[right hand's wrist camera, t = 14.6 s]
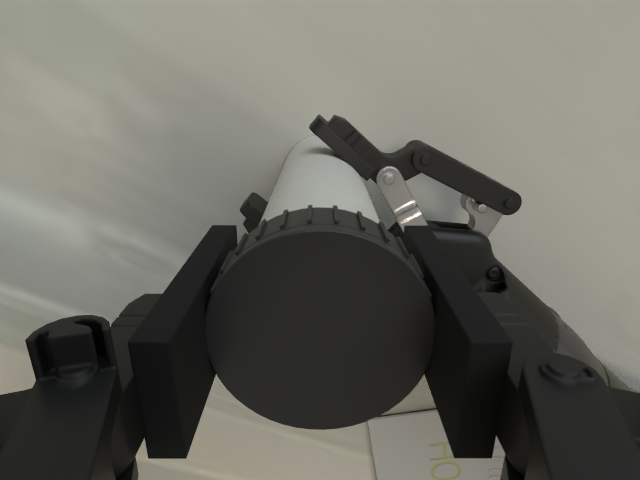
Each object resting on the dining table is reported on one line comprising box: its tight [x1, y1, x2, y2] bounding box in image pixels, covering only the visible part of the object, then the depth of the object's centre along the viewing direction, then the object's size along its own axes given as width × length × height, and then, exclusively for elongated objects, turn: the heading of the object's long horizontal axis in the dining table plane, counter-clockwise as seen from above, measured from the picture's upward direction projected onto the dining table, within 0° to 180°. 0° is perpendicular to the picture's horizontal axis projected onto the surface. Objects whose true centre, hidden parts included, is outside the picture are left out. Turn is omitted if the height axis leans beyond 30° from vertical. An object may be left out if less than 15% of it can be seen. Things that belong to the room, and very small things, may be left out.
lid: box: [205, 205, 436, 430], centre depth 11 cm, size 6×6×2 cm
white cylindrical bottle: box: [259, 136, 379, 226], centre depth 20 cm, size 5×5×19 cm
